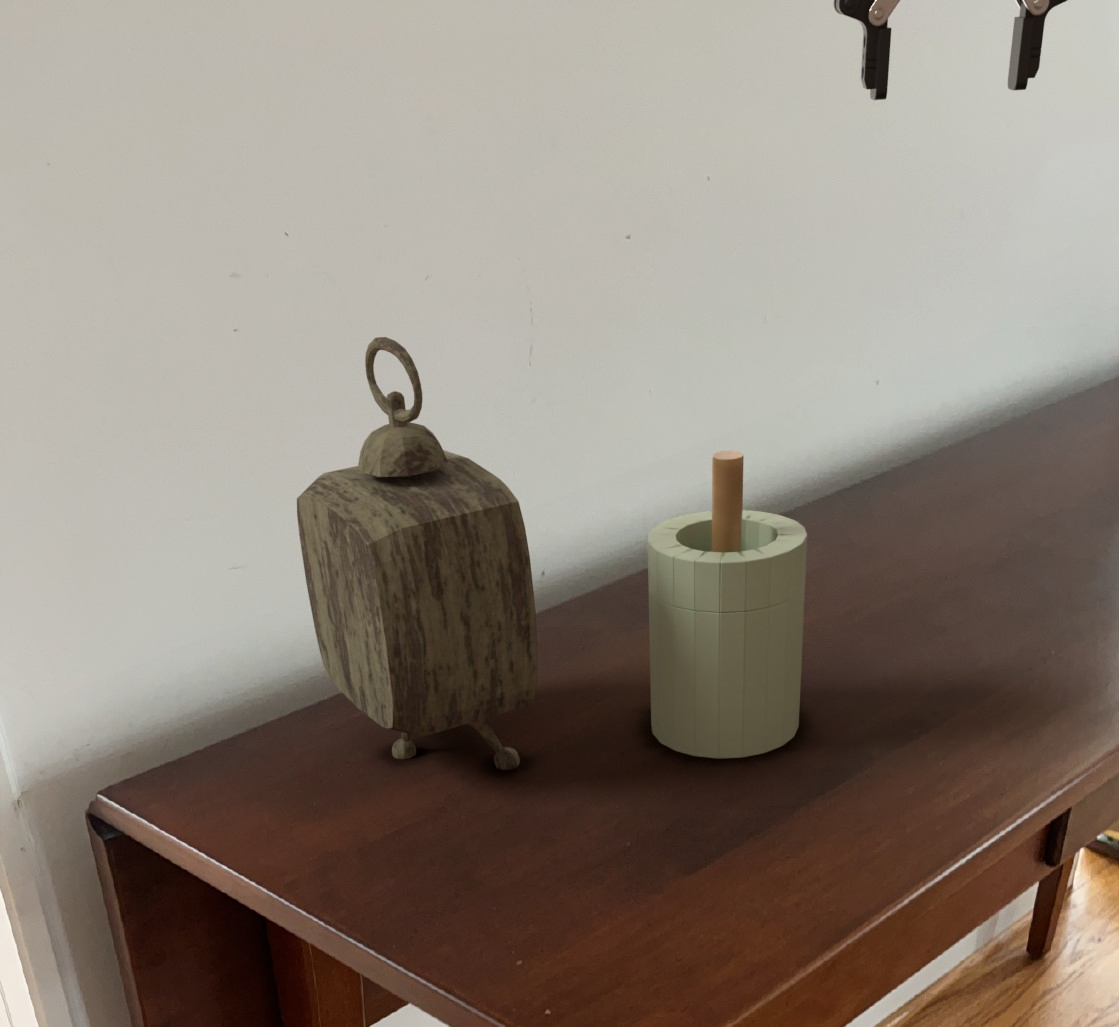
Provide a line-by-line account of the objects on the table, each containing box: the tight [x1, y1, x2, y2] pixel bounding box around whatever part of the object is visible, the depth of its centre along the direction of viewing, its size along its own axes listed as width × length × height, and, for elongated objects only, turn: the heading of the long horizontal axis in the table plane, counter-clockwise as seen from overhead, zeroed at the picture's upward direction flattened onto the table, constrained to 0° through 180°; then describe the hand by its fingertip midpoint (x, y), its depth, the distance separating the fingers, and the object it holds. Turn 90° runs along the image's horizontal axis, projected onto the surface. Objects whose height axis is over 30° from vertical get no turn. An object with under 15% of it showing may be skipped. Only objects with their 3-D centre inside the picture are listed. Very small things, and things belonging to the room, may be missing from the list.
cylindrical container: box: [647, 509, 808, 760], centre depth 89 cm, size 9×9×13 cm
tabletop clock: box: [296, 336, 538, 771], centre depth 85 cm, size 14×9×25 cm, turn 30°
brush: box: [711, 450, 745, 553], centre depth 87 cm, size 3×3×17 cm
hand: (946, 94), depth 88 cm, fingers open, 8 cm apart
